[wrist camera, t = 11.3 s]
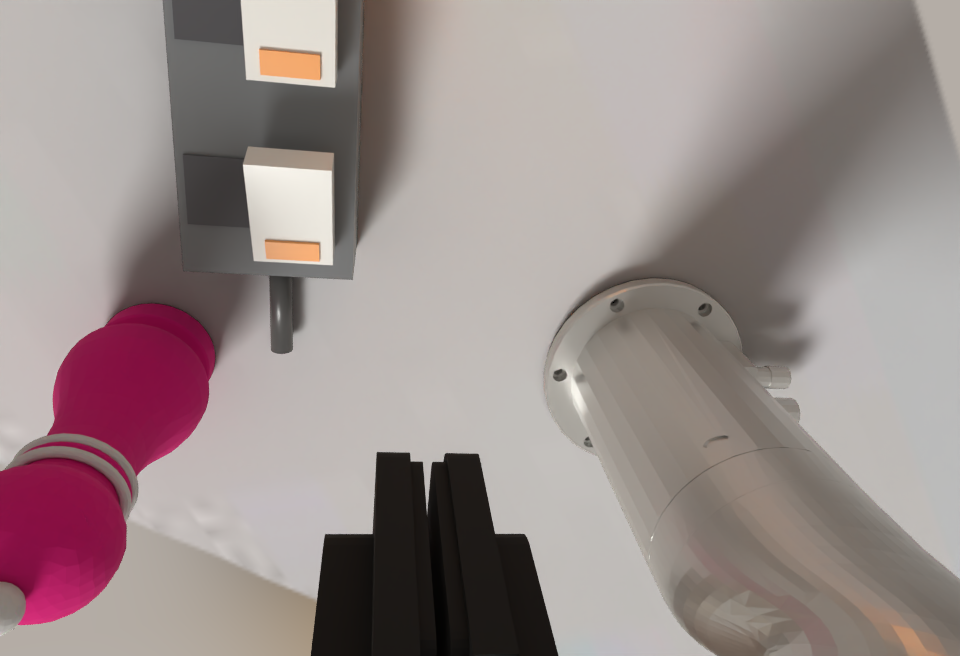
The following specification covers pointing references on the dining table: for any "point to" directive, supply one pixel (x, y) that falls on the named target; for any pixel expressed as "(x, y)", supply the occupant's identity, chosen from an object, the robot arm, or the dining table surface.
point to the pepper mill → (96, 458)
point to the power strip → (255, 143)
